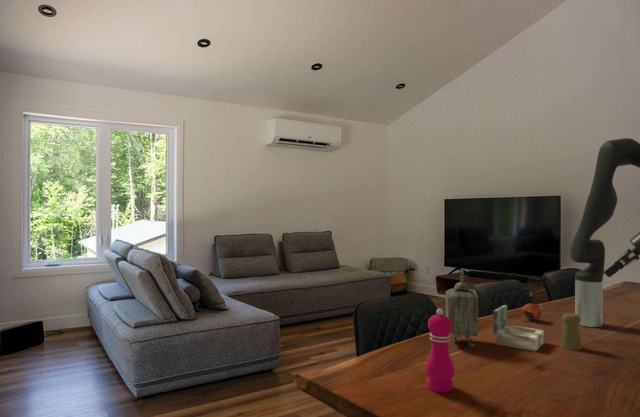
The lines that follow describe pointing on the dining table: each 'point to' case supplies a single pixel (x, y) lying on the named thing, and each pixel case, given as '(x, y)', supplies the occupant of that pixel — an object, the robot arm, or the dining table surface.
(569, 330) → the cork
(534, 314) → the pomegranate
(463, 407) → the dining table surface
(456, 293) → the tabletop clock
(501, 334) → the stand
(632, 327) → the dining table surface
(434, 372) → the pepper mill
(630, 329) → the dining table surface
